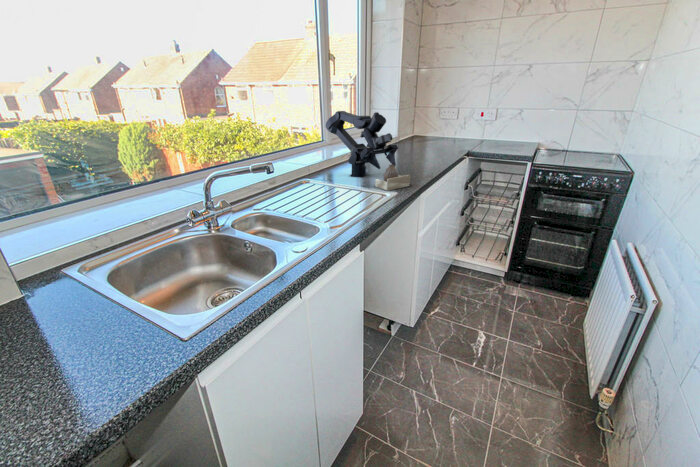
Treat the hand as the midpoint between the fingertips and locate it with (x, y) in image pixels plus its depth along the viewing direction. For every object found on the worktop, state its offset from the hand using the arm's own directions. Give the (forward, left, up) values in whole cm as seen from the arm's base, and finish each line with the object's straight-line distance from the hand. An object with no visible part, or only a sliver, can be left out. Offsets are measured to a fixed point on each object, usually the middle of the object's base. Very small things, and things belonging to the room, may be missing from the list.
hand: (387, 167), depth 148 cm
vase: (+2, -1, -8) cm, 8 cm away
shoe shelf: (+3, -2, -8) cm, 9 cm away
